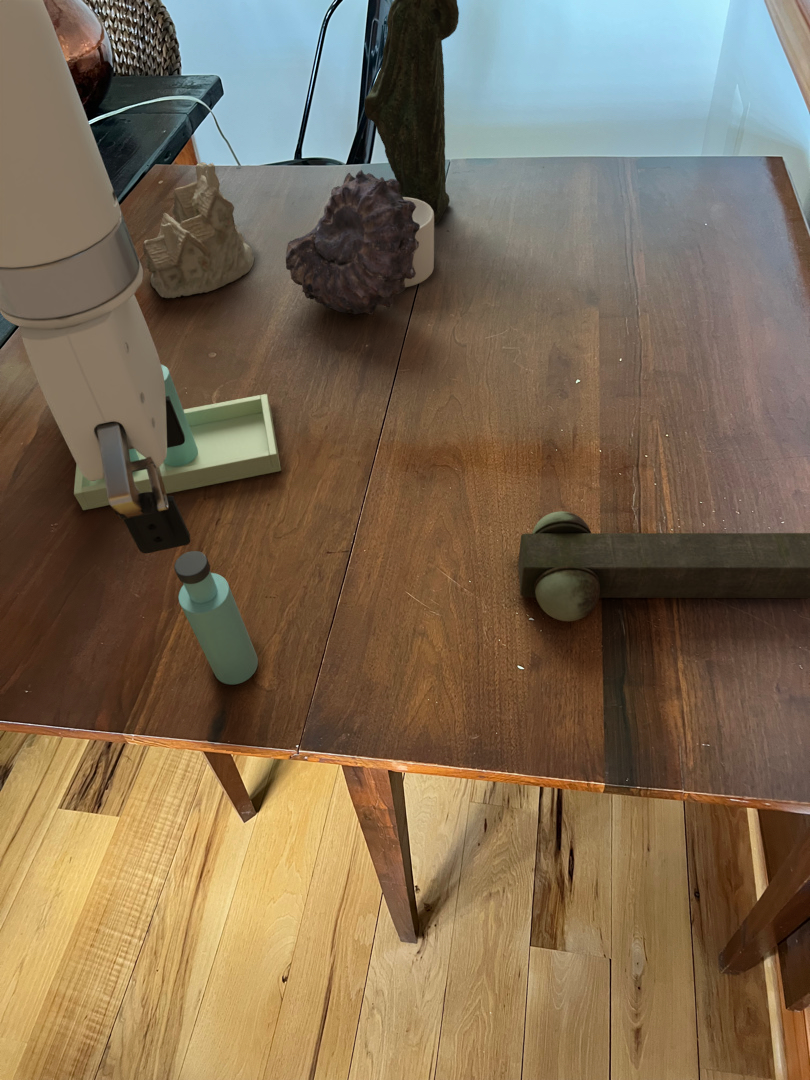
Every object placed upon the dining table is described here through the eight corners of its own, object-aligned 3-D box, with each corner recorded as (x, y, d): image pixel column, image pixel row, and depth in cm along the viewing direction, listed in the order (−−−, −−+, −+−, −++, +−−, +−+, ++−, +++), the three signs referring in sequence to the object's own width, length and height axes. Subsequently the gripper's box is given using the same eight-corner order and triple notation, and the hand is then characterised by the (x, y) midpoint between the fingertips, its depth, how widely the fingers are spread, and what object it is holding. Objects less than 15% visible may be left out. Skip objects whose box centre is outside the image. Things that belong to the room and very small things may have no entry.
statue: (463, 196, 123) (462, -80, 96) (458, 226, 117) (455, -59, 90) (374, 196, 125) (348, -74, 98) (364, 226, 119) (334, -53, 92)
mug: (450, 262, 110) (449, 207, 104) (407, 298, 105) (403, 242, 99) (376, 239, 116) (371, 185, 110) (332, 271, 111) (324, 217, 105)
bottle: (215, 689, 68) (164, 589, 56) (212, 651, 70) (163, 549, 59) (260, 679, 68) (218, 578, 57) (256, 642, 71) (215, 538, 59)
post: (826, 537, 75) (515, 537, 76) (849, 497, 70) (519, 498, 72) (867, 635, 67) (522, 633, 69) (895, 597, 63) (526, 596, 65)
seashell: (325, 264, 111) (328, 353, 106) (261, 211, 101) (261, 307, 95) (440, 200, 101) (450, 295, 96) (383, 134, 91) (390, 236, 85)
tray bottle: (162, 469, 85) (116, 360, 74) (162, 446, 88) (117, 337, 77) (198, 462, 86) (158, 353, 75) (197, 439, 88) (157, 330, 77)
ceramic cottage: (236, 225, 121) (206, 128, 109) (266, 278, 112) (237, 178, 100) (140, 257, 119) (99, 161, 107) (163, 314, 109) (120, 216, 97)
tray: (83, 510, 83) (73, 493, 81) (87, 445, 90) (79, 429, 88) (281, 471, 85) (276, 453, 83) (271, 410, 92) (266, 393, 90)
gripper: (5, 199, 45) (113, 423, 58) (-40, 378, 34) (106, 605, 47) (135, 176, 45) (212, 403, 58) (133, 345, 34) (229, 578, 47)
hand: (165, 492), depth 52 cm, fingers open, 9 cm apart
